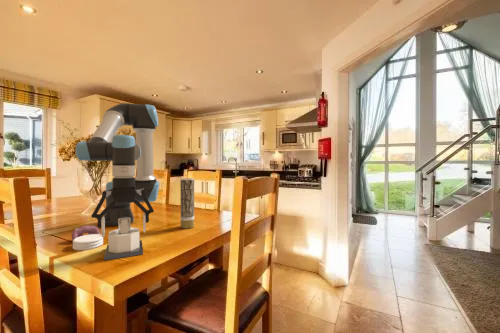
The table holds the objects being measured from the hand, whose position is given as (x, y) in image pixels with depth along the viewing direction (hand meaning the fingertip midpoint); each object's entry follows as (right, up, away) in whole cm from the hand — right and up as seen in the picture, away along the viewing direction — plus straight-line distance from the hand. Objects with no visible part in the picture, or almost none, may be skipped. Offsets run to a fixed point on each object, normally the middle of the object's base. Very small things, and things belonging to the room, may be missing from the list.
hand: (124, 233), depth 87 cm
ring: (0, -5, 0) cm, 5 cm away
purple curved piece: (-23, -7, +13) cm, 27 cm away
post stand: (0, -7, 0) cm, 7 cm away
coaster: (-18, -7, +6) cm, 20 cm away
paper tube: (+15, -6, +33) cm, 36 cm away
